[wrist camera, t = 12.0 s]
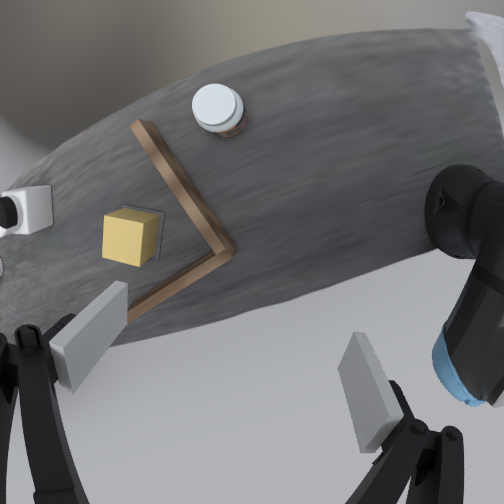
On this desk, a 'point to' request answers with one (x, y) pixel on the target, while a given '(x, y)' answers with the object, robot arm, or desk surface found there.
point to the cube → (130, 236)
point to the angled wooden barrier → (195, 210)
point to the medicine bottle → (25, 210)
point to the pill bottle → (219, 110)
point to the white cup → (1, 268)
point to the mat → (160, 225)
